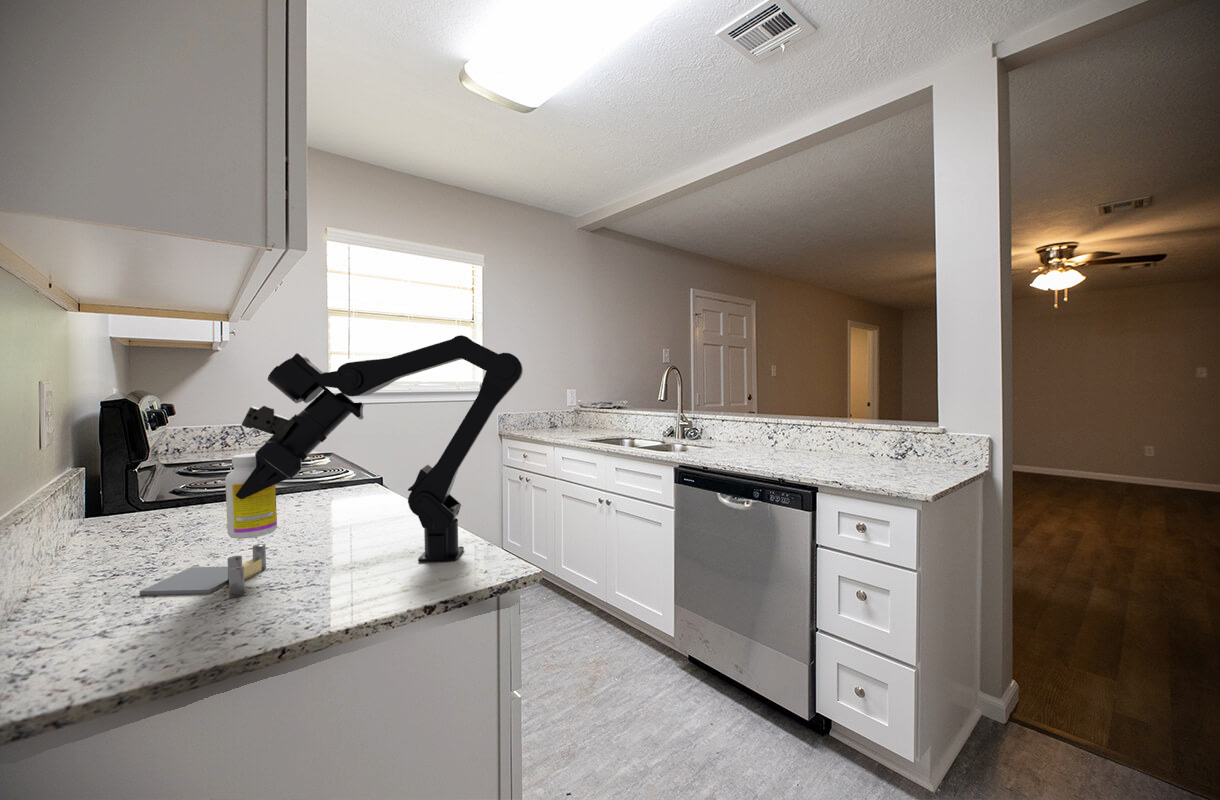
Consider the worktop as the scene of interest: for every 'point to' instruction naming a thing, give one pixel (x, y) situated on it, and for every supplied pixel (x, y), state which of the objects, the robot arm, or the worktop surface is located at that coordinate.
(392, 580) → the worktop surface
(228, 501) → the supplement bottle
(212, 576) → the slate coaster
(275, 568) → the worktop surface
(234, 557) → the bent rail
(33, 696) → the worktop surface
